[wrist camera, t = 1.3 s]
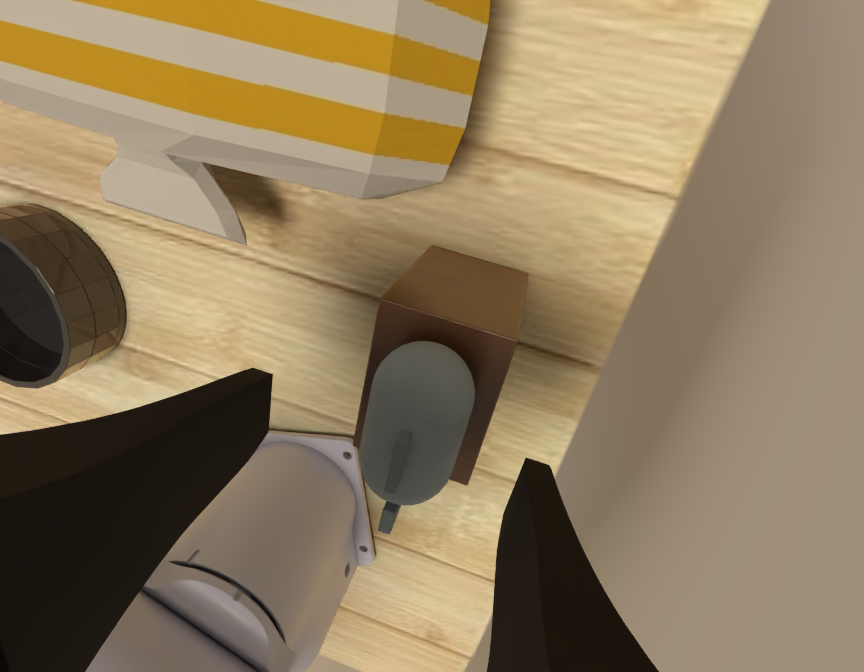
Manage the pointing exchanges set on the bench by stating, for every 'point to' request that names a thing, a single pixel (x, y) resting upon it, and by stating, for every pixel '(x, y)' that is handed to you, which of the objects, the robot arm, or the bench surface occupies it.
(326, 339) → the bench surface
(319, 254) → the bench surface
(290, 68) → the fish
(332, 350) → the bench surface
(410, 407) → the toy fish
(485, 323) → the brown boxy piece
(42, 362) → the pot
